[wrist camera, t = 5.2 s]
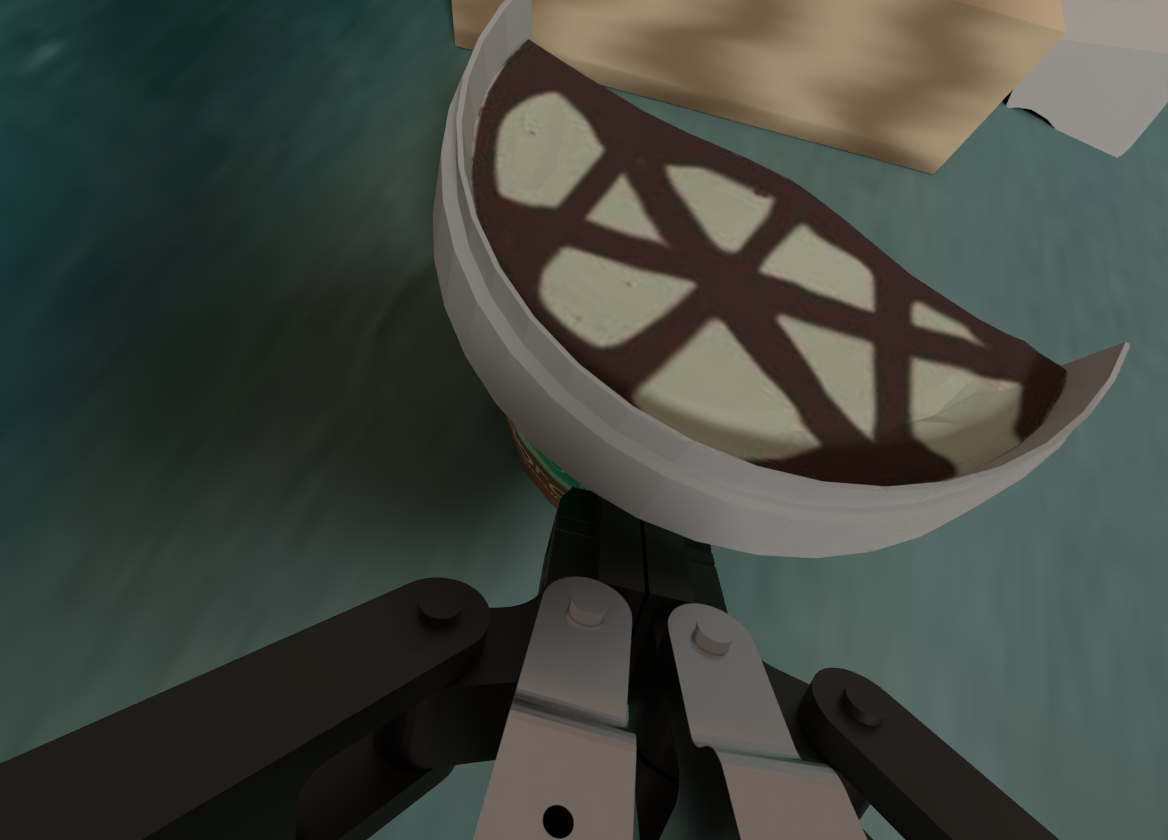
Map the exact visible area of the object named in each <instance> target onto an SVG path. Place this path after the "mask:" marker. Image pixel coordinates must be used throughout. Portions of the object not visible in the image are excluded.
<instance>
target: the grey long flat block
mask: <svg viewBox="0 0 1168 840" xmlns="http://www.w3.org/2000/svg"><path fill="white" fill-rule="evenodd" d="M1061 5H1062V11H1063V16H1064V22H1065V28H1066V33H1065V34H1064V35H1063V37H1062V38H1061V39H1060V40H1059V41H1058V42H1057V43H1056V44H1055V45H1054V46H1053V47H1052V48H1051V49H1050V50H1049V51H1048V53H1047V54H1046V55H1045V56H1044V57H1043V58H1042V59H1041V60H1040V61H1039V62H1038V63H1037V64H1036V65H1035V66H1034V68H1033V69H1032V70H1031V71H1030V72H1029V73H1028V74H1027V75H1026V76H1025V77H1024V78H1023V79H1022V80H1021V81H1020V82H1019V84H1018V85H1017V86H1016V87H1015V88H1014V89H1013V91H1012V93H1011V95H1010V98H1009V100H1008V102H1007V104H1006V106H1007V107H1009V108H1024V109H1031V110H1033V111H1035V112H1036V113H1038V114H1039V115H1041V116H1043V117H1044V118H1046V119H1048V121H1049V122H1050V123H1051V124H1052V126H1053V127H1054V128H1055V129H1056V130H1058V131H1061V132H1063V133H1065V134H1067V135H1069V136H1071V137H1074V138H1076V139H1078V140H1080V141H1082V142H1084V143H1086V144H1089V145H1091V146H1093V147H1095V148H1097V149H1099V150H1102V151H1104V152H1106V153H1108V154H1110V155H1112V156H1115V157H1119V156H1121V155H1122V154H1123V153H1125V152H1126V151H1127V150H1128V149H1129V148H1130V147H1131V146H1132V145H1133V144H1134V142H1135V141H1136V140H1137V139H1138V138H1139V136H1140V135H1141V134H1142V133H1143V132H1144V130H1145V129H1146V128H1147V127H1148V126H1149V124H1150V123H1151V122H1152V121H1153V119H1154V118H1155V117H1156V116H1157V115H1158V113H1159V112H1160V111H1161V110H1162V109H1163V107H1164V106H1165V105H1166V104H1167V103H1168V0H1061Z"/></svg>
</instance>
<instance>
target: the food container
mask: <svg viewBox="0 0 1168 840" xmlns="http://www.w3.org/2000/svg"><path fill="white" fill-rule="evenodd" d="M433 240H434V261H435V266H436V270H437V275H438V279H439V284H440V288H441V293H442V297H443V302H444V306H445V309H446V311H447V314H448V316H449V319H450V321H451V323H452V326H453V328H454V330H455V333H456V335H457V338H458V340H459V342H460V345H461V347H462V350H463V352H464V354H465V356H466V358H467V359H468V361H469V363H470V364H471V366H472V367H473V369H474V370H475V372H476V373H477V375H478V377H479V378H480V380H481V381H482V383H483V384H484V386H485V388H486V389H487V391H488V392H489V394H490V395H491V397H492V399H493V400H494V402H495V403H496V404H497V405H498V406H499V408H500V409H501V410H502V411H503V412H504V413H505V414H506V419H507V424H508V428H509V431H510V433H511V436H512V439H513V441H514V444H515V446H516V449H517V451H518V454H519V456H520V459H521V462H522V464H523V467H524V469H525V472H526V474H527V475H528V476H529V477H530V479H531V480H532V481H533V482H534V483H535V485H536V486H537V487H538V488H539V490H540V491H541V492H542V493H543V495H544V496H545V497H546V498H547V500H548V501H549V502H550V503H551V504H552V505H553V506H554V507H556V508H557V509H558V505H559V501H560V498H561V497H562V496H563V495H564V494H565V493H566V492H567V491H569V490H570V489H571V488H572V487H576V488H580V489H584V490H588V491H592V492H594V493H596V494H597V495H599V496H601V497H602V498H604V499H606V500H607V501H609V502H611V503H613V504H614V505H616V506H618V507H619V508H621V509H623V510H624V511H626V512H628V513H630V514H631V515H633V516H635V517H636V518H639V519H641V520H644V521H646V522H649V523H651V524H654V525H656V526H659V527H661V528H664V529H666V530H669V531H671V532H674V533H676V534H679V535H682V536H684V537H687V538H689V539H692V540H694V541H697V542H702V543H706V544H711V545H715V546H720V547H724V548H729V549H733V550H737V551H742V552H746V553H751V554H755V555H770V556H787V557H805V558H821V557H830V556H838V555H847V554H856V553H864V552H872V551H875V550H878V549H882V548H885V547H888V546H891V545H895V544H898V543H901V542H904V541H908V540H911V539H914V538H917V537H921V536H923V535H925V534H927V533H929V532H930V531H932V530H934V529H936V528H938V527H940V526H942V525H943V524H945V523H947V522H949V521H951V520H953V519H954V518H956V517H958V516H960V515H962V514H964V513H966V512H967V511H969V510H971V509H972V508H974V507H976V506H977V505H979V504H981V503H982V502H984V501H986V500H987V499H989V498H991V497H992V496H994V495H996V494H997V493H999V492H1001V491H1002V490H1004V489H1006V488H1007V487H1009V486H1011V485H1012V484H1014V483H1016V482H1017V481H1019V480H1021V479H1022V478H1024V477H1025V476H1026V475H1027V474H1028V473H1030V472H1031V471H1032V470H1033V469H1034V468H1036V467H1037V466H1038V465H1039V464H1040V463H1041V462H1043V461H1044V460H1045V459H1046V458H1047V457H1049V456H1050V455H1051V454H1052V453H1053V452H1055V451H1056V450H1057V449H1058V448H1059V447H1060V446H1061V445H1062V444H1063V442H1064V441H1065V440H1066V438H1067V437H1068V436H1069V434H1070V433H1071V432H1072V430H1073V429H1074V428H1075V427H1076V426H1078V425H1079V424H1080V423H1081V422H1082V421H1084V420H1085V419H1086V418H1087V417H1088V416H1089V415H1090V413H1091V412H1092V411H1093V409H1094V408H1095V407H1096V405H1097V404H1098V403H1099V401H1100V400H1101V399H1102V397H1103V396H1104V395H1105V393H1106V392H1107V391H1108V389H1109V388H1110V387H1111V385H1112V384H1113V383H1114V381H1115V379H1116V377H1117V375H1118V373H1119V370H1120V368H1121V366H1122V363H1123V361H1124V359H1125V357H1126V354H1127V352H1128V350H1129V347H1130V344H1128V343H1126V342H1124V343H1122V344H1119V345H1116V346H1114V347H1111V348H1108V349H1106V350H1103V351H1100V352H1097V353H1095V354H1092V355H1089V356H1087V357H1084V358H1081V359H1079V360H1076V361H1073V362H1070V363H1068V364H1065V365H1062V366H1060V365H1058V364H1056V363H1055V362H1053V361H1051V360H1050V359H1048V358H1047V357H1045V356H1043V355H1042V354H1040V353H1039V352H1037V351H1036V350H1035V349H1034V348H1032V347H1031V346H1030V345H1029V344H1027V343H1026V342H1025V341H1023V340H1020V339H1018V338H1016V337H1013V336H1011V335H1008V334H1006V333H1004V332H1002V331H1000V330H998V329H996V328H995V327H993V326H991V325H989V324H987V323H985V322H983V321H981V320H979V319H977V318H976V317H974V316H973V315H971V314H970V313H968V312H967V311H965V310H964V309H962V308H961V307H959V306H958V305H956V304H955V303H953V302H952V301H950V300H948V299H947V298H945V297H944V296H942V295H941V294H939V293H938V292H936V291H935V290H933V289H932V288H930V287H929V286H927V285H926V284H924V283H923V282H921V281H919V280H918V279H916V278H915V277H913V276H912V275H911V274H909V273H908V272H907V271H906V270H904V269H903V268H902V267H901V266H900V265H898V264H897V263H896V262H895V261H894V260H892V259H891V258H890V257H889V256H888V255H886V254H885V253H884V252H883V251H882V250H880V249H879V248H878V247H877V246H875V245H874V244H873V243H872V242H871V241H869V240H868V239H867V238H866V237H865V236H863V235H862V234H861V233H860V232H859V231H857V230H856V229H855V228H854V227H853V226H851V225H850V224H849V223H848V222H846V221H845V220H844V219H843V218H842V217H840V216H839V215H838V214H837V213H835V212H834V211H833V210H831V209H830V208H829V207H827V206H826V205H825V204H823V203H822V202H821V201H819V200H818V199H817V198H815V197H814V196H813V195H812V194H810V193H809V192H808V191H806V190H805V189H804V188H802V187H801V186H799V185H798V184H796V183H795V182H793V181H791V180H790V179H788V178H786V177H784V176H782V175H779V174H777V173H775V172H773V171H771V170H769V169H767V168H765V167H763V166H761V165H759V164H757V163H755V162H753V161H751V160H749V159H747V158H745V157H743V156H740V155H738V154H736V153H733V152H731V151H729V150H726V149H724V148H722V147H719V146H717V145H715V144H712V143H710V142H708V141H705V140H703V139H701V138H698V137H696V136H694V135H691V134H689V133H687V132H685V131H683V130H681V129H679V128H677V127H675V126H673V125H671V124H668V123H666V122H664V121H662V120H660V119H658V118H656V117H654V116H652V115H650V114H648V113H646V112H644V111H642V110H641V109H639V108H637V107H636V106H634V105H632V104H631V103H629V102H628V101H626V100H624V99H623V98H621V97H619V96H618V95H616V94H614V93H613V92H611V91H610V90H608V89H606V88H605V87H603V86H601V85H600V84H598V83H596V82H595V81H593V80H592V79H590V78H588V77H587V76H585V75H583V74H582V73H580V72H579V71H577V70H576V69H574V68H573V67H571V66H569V65H568V64H566V63H565V62H563V61H562V60H560V59H559V58H557V57H556V56H554V55H552V54H551V53H549V52H548V51H546V50H545V49H543V48H542V47H540V46H539V45H537V44H535V43H534V42H533V37H532V13H531V0H505V1H504V2H503V3H502V4H501V5H500V7H499V8H498V10H497V11H496V13H495V14H494V16H493V17H492V19H491V20H490V22H489V23H488V24H487V26H486V27H485V29H484V30H483V32H482V33H481V35H480V36H479V38H478V40H477V43H476V45H475V48H474V50H473V53H472V55H471V58H470V60H469V63H468V65H467V67H466V69H465V71H464V73H463V75H462V78H461V80H460V83H459V85H458V88H457V90H456V93H455V95H454V98H453V100H452V102H451V105H450V107H449V111H448V117H447V122H446V128H445V134H444V139H443V145H442V150H441V157H440V164H439V172H438V179H437V186H436V193H435V201H434V208H433Z"/></svg>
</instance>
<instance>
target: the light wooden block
mask: <svg viewBox="0 0 1168 840" xmlns="http://www.w3.org/2000/svg"><path fill="white" fill-rule="evenodd" d="M504 1H505V0H452V11H453V24H454V36H455V46H458V47H462V48H465V49H469V50H474V48H475V45H476V43H477V40H478V38H479V36H480V35H481V33H482V32H483V30H484V29H485V27H486V26H487V24H488V23H489V22H490V20H491V19H492V17H493V16H494V14H495V13H496V11H497V10H498V8H499V7H500V5H501V4H502V3H503V2H504ZM531 13H532V37H533V42H534V43H535V44H537V45H539V46H540V47H542V48H543V49H545V50H546V51H548V52H549V53H551V54H552V55H554V56H556V57H557V58H559V59H560V60H562V61H563V62H565V63H566V64H568V65H569V66H571V67H573V68H574V69H576V70H577V71H579V72H580V73H582V74H583V75H585V76H587V77H588V78H590V79H592V80H593V81H595V82H596V83H598V84H600V85H603V86H606V87H610V88H614V89H618V90H621V91H625V92H629V93H632V94H636V95H640V96H644V97H647V98H651V99H655V100H658V101H662V102H666V103H670V104H673V105H677V106H681V107H684V108H688V109H692V110H696V111H699V112H703V113H707V114H710V115H714V116H718V117H721V118H725V119H729V120H733V121H736V122H740V123H744V124H747V125H751V126H755V127H759V128H762V129H766V130H770V131H773V132H777V133H781V134H785V135H788V136H792V137H796V138H799V139H803V140H807V141H811V142H814V143H818V144H822V145H825V146H829V147H833V148H837V149H840V150H844V151H848V152H851V153H855V154H859V155H863V156H866V157H870V158H874V159H877V160H881V161H885V162H889V163H892V164H896V165H900V166H903V167H907V168H911V169H914V170H918V171H922V172H926V173H929V174H934V173H935V172H936V171H937V170H938V169H939V168H940V167H941V166H942V165H943V164H944V163H945V161H946V160H947V159H948V158H949V157H950V156H951V155H952V154H953V153H954V152H955V151H956V150H957V149H958V148H959V147H960V145H961V144H962V143H963V142H964V141H965V140H966V139H967V138H968V137H969V136H970V135H971V134H972V133H973V132H974V131H975V129H976V128H977V127H978V126H979V125H980V124H981V123H982V122H983V121H984V120H985V119H986V118H987V117H988V116H989V114H990V113H991V112H992V111H993V110H994V109H995V108H996V107H997V106H998V105H999V104H1000V103H1001V102H1002V101H1003V100H1004V98H1005V97H1006V96H1007V95H1008V94H1009V93H1010V92H1011V91H1012V90H1013V89H1014V88H1015V87H1016V86H1017V85H1018V84H1019V82H1020V81H1021V80H1022V79H1023V78H1024V77H1025V76H1026V75H1027V74H1028V73H1029V72H1030V71H1031V70H1032V69H1033V68H1034V66H1035V65H1036V64H1037V63H1038V62H1039V61H1040V60H1041V59H1042V58H1043V57H1044V56H1045V55H1046V54H1047V53H1048V51H1049V50H1050V49H1051V48H1052V47H1053V46H1054V45H1055V44H1056V43H1057V42H1058V41H1059V40H1060V39H1061V38H1062V37H1063V35H1064V34H1065V33H1066V28H1065V22H1064V16H1063V11H1062V5H1061V0H531Z"/></svg>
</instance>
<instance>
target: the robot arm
mask: <svg viewBox="0 0 1168 840" xmlns="http://www.w3.org/2000/svg"><path fill="white" fill-rule="evenodd" d="M714 565H715V562H714V559H713V555H712V553H711V547H710V544H706V543H702V542H697V541H694V540H692V539H689V538H687V537H684V536H682V535H679V534H676V533H674V532H671V531H669V530H666V529H664V528H661V527H659V526H656V525H654V524H651V523H649V522H646V521H644V520H641V519H639V518H636V517H635V516H633V515H631V514H630V513H628V512H626V511H624V510H623V509H621V508H619V507H618V506H616V505H614V504H613V503H611V502H609V501H607V500H606V499H604V498H602V497H601V496H599V495H597V494H596V493H594V492H592V491H588V490H584V489H580V488H576V487H572V488H571V489H570V490H569V491H567V492H566V493H565V494H564V495H563V496H562V497H561V498H560V501H559V505H558V509H557V512H556V516H555V520H554V524H553V528H552V531H551V535H550V539H549V543H548V546H547V550H546V554H545V558H544V563H543V569H542V574H541V580H540V585H539V592H538V596H536V597H535V598H534V599H532V600H530V601H528V602H526V603H524V604H521V605H517V606H512V607H501V608H489V607H488V604H487V602H486V601H485V599H484V597H483V596H482V595H481V594H480V593H479V592H478V591H477V590H475V589H474V588H473V587H471V586H469V585H467V584H465V583H463V582H460V581H457V580H453V579H448V578H425V579H421V580H417V581H414V582H411V583H409V584H406V585H404V586H402V587H400V588H397V589H395V590H393V591H391V592H388V593H386V594H384V595H382V596H379V597H377V598H375V599H372V600H370V601H368V602H366V603H363V604H361V605H359V606H357V607H354V608H352V609H350V610H348V611H345V612H343V613H341V614H338V615H336V616H334V617H332V618H329V619H327V620H325V621H323V622H320V623H318V624H316V625H314V626H311V627H309V628H307V629H304V630H302V631H300V632H298V633H295V634H293V635H291V636H289V637H286V638H284V639H282V640H280V641H277V642H275V643H273V644H270V645H268V646H266V647H264V648H261V649H259V650H257V651H255V652H252V653H250V654H248V655H245V656H243V657H241V658H239V659H236V660H234V661H232V662H230V663H227V664H225V665H223V666H221V667H218V668H216V669H214V670H211V671H209V672H207V673H205V674H202V675H200V676H198V677H196V678H193V679H191V680H189V681H187V682H184V683H182V684H180V685H177V686H175V687H173V688H171V689H168V690H166V691H164V692H162V693H159V694H157V695H155V696H153V697H150V698H148V699H146V700H143V701H141V702H139V703H137V704H134V705H132V706H130V707H128V708H125V709H123V710H121V711H118V712H116V713H114V714H112V715H109V716H107V717H105V718H103V719H100V720H98V721H96V722H94V723H91V724H89V725H87V726H84V727H82V728H80V729H78V730H75V731H73V732H71V733H69V734H66V735H64V736H62V737H60V738H57V739H55V740H53V741H50V742H48V743H46V744H44V745H41V746H39V747H37V748H35V749H32V750H30V751H28V752H26V753H23V754H21V755H19V756H16V757H14V758H12V759H10V760H7V761H5V762H3V763H1V764H0V840H367V839H368V838H369V837H371V836H372V835H373V834H375V833H376V832H377V831H378V830H380V829H381V828H382V827H384V826H385V825H386V824H387V823H389V822H390V821H391V820H393V819H394V818H395V817H396V816H398V815H399V814H400V813H402V812H403V811H404V810H405V809H407V808H408V807H409V806H411V805H412V804H413V803H414V802H416V801H417V800H418V799H420V798H421V797H422V796H423V795H425V794H426V793H427V792H428V791H430V790H431V789H432V788H434V787H435V786H436V785H437V784H439V783H440V782H441V781H443V780H444V779H445V778H446V777H447V776H448V775H449V774H450V772H451V771H452V770H453V768H454V766H455V765H458V764H466V763H474V762H482V761H489V760H496V761H495V764H494V768H493V771H492V775H491V778H490V782H489V785H488V789H487V793H486V796H485V800H484V803H483V807H482V810H481V814H480V817H479V821H478V824H477V828H476V831H475V835H474V838H473V840H873V839H872V838H871V837H870V836H869V835H868V834H867V833H866V832H865V831H864V830H863V829H862V826H861V824H860V822H859V820H860V818H861V817H862V815H863V814H864V812H865V811H866V810H867V808H868V807H869V805H870V804H871V805H872V806H873V807H874V808H875V809H876V810H877V811H878V812H879V813H880V814H881V815H882V816H883V817H884V818H885V819H886V820H887V821H888V822H889V823H890V824H891V825H892V826H893V828H894V829H895V830H896V831H897V832H898V833H899V834H900V835H901V836H902V837H903V838H904V839H905V840H1059V839H1058V838H1057V837H1055V836H1054V835H1053V834H1052V833H1051V832H1050V831H1048V830H1047V829H1046V828H1045V827H1044V826H1043V825H1041V824H1040V823H1039V822H1038V821H1037V820H1036V819H1034V818H1033V817H1032V816H1031V815H1030V814H1028V813H1027V812H1026V811H1025V810H1024V809H1023V808H1021V807H1020V806H1019V805H1018V804H1017V803H1016V802H1014V801H1013V800H1012V799H1011V798H1010V797H1008V796H1007V795H1006V794H1005V793H1004V792H1003V791H1001V790H1000V789H999V788H998V787H997V786H996V785H994V784H993V783H992V782H991V781H990V780H989V779H987V778H986V777H985V776H984V775H983V774H981V773H980V772H979V771H978V770H977V769H976V768H974V767H973V766H972V765H971V764H970V763H969V762H967V761H966V760H965V759H964V758H963V757H962V756H960V755H959V754H958V753H957V752H956V751H954V750H953V749H952V748H951V747H950V746H949V745H947V744H946V743H945V742H944V741H943V740H942V739H940V738H939V737H938V736H937V735H936V734H935V733H933V732H932V731H931V730H930V729H929V728H927V727H926V726H925V725H924V724H923V723H922V722H920V721H919V720H918V719H917V718H916V717H915V716H913V715H912V714H911V713H910V712H909V711H908V710H906V709H905V708H904V707H903V706H902V705H900V704H899V703H898V702H897V701H896V700H895V699H893V698H892V697H891V696H890V695H889V694H888V693H886V692H885V691H884V690H883V689H881V688H880V687H879V686H878V685H876V684H875V683H873V682H872V681H870V680H869V679H867V678H865V677H863V676H861V675H859V674H857V673H854V672H852V671H849V670H845V669H840V668H826V669H823V670H820V671H819V672H818V673H816V675H815V676H814V678H813V680H812V681H811V683H810V685H809V684H807V683H805V682H803V681H801V680H799V679H797V678H795V677H793V676H790V675H788V674H786V673H784V672H782V671H780V670H778V669H776V668H774V667H772V666H770V665H768V664H767V663H765V662H764V661H762V660H761V658H760V655H759V652H758V650H757V647H756V645H755V642H754V640H753V638H752V637H751V635H750V634H749V632H748V631H747V630H746V629H745V628H744V626H743V625H742V624H740V623H739V622H738V621H737V620H736V619H734V618H733V617H732V616H730V615H729V614H728V613H727V609H726V606H725V602H724V598H723V594H722V590H721V586H720V582H719V578H718V574H717V570H716V567H714ZM627 704H628V705H629V720H628V723H627V725H626V712H627Z"/></svg>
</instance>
